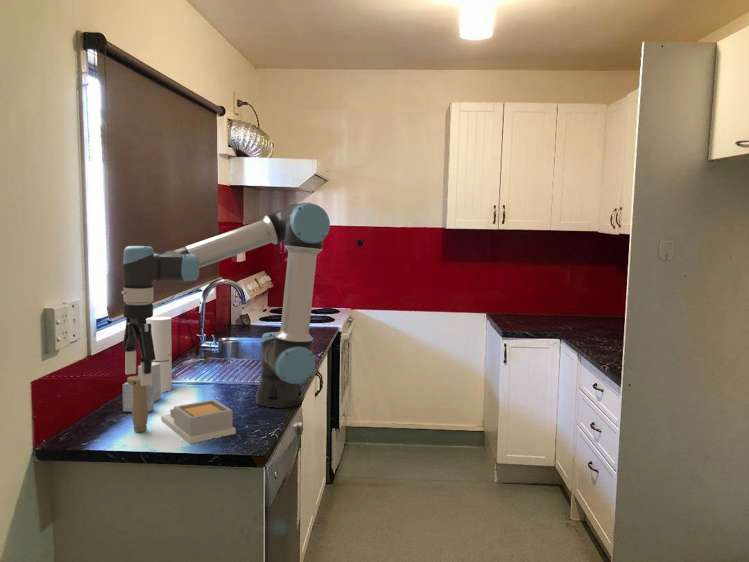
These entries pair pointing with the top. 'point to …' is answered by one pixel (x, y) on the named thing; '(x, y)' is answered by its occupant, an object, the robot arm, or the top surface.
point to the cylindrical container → (162, 349)
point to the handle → (139, 404)
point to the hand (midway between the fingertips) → (138, 379)
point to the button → (201, 410)
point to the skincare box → (154, 380)
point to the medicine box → (129, 397)
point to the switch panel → (200, 422)
